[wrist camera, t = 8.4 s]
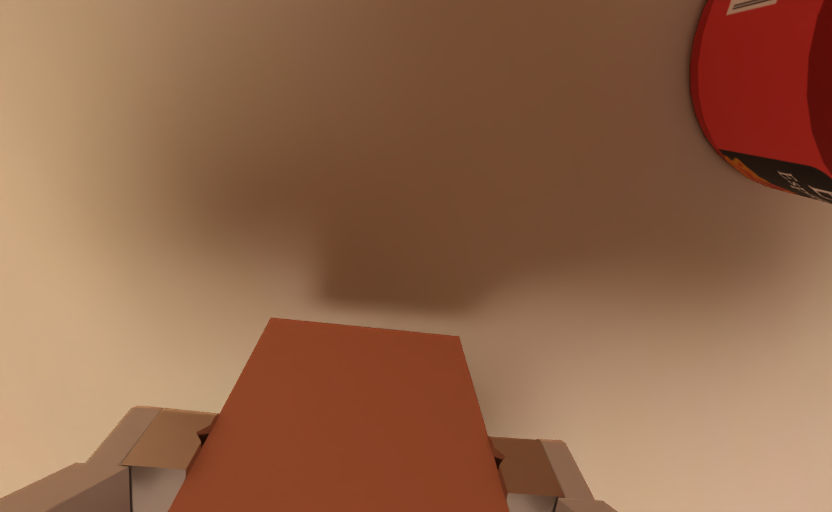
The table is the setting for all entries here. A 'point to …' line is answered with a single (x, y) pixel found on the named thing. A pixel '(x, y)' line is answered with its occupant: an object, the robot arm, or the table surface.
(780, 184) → the canned food
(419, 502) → the tile
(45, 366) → the table surface
